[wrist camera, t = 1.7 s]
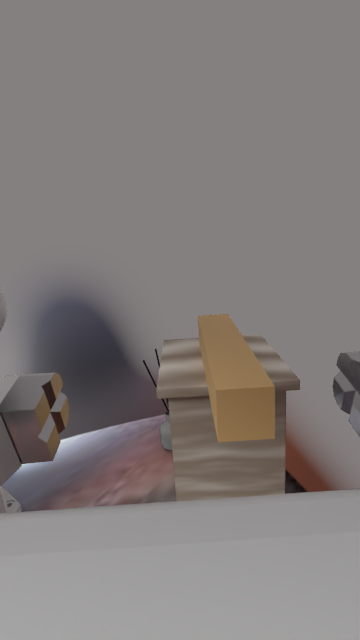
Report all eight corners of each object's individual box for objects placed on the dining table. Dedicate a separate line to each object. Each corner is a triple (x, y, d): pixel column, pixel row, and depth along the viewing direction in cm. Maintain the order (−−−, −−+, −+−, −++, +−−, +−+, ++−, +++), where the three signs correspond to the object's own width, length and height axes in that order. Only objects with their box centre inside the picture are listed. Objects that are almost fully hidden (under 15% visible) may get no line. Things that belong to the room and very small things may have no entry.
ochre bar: (274, 438, 23) (274, 386, 22) (217, 442, 23) (215, 390, 22) (228, 342, 44) (227, 313, 43) (199, 344, 44) (197, 315, 43)
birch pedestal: (295, 586, 38) (299, 380, 31) (175, 592, 38) (156, 389, 32) (261, 485, 53) (260, 333, 47) (176, 490, 53) (164, 340, 47)
